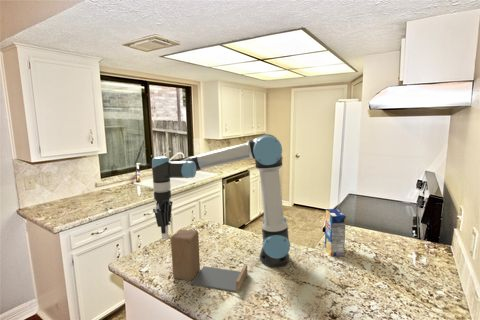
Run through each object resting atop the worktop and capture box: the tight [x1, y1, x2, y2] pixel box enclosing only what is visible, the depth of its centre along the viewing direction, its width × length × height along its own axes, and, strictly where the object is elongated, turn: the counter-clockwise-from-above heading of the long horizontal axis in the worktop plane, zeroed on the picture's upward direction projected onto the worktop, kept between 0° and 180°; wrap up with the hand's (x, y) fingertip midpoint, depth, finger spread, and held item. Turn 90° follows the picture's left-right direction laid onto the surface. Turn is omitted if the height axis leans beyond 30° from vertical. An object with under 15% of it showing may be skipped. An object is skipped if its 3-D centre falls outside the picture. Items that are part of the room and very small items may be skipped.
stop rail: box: [236, 263, 248, 293], centre depth 116 cm, size 1×14×5 cm, turn 164°
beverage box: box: [324, 208, 347, 257], centre depth 141 cm, size 7×11×22 cm, turn 179°
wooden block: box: [170, 229, 201, 281], centre depth 122 cm, size 10×10×20 cm
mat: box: [190, 265, 241, 293], centre depth 119 cm, size 21×14×1 cm, turn 74°
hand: (165, 238), depth 124 cm, fingers closed
